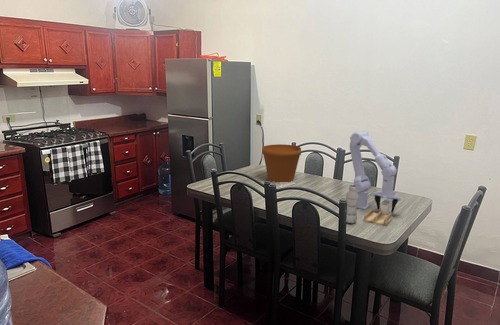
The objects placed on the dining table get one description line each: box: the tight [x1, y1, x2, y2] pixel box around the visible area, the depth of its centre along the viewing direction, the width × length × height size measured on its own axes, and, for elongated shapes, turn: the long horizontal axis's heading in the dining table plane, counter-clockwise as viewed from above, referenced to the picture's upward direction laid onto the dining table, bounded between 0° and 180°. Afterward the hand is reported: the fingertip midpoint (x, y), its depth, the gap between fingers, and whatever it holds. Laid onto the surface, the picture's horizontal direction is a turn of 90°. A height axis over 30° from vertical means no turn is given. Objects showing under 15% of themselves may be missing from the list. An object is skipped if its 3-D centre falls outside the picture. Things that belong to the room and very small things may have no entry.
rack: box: [362, 208, 393, 227], centre depth 193 cm, size 12×13×3 cm
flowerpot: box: [261, 143, 302, 183], centre depth 264 cm, size 28×28×24 cm
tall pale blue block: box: [380, 199, 392, 216], centre depth 201 cm, size 3×7×7 cm, turn 146°
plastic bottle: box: [345, 184, 359, 224], centre depth 187 cm, size 6×7×20 cm
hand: (385, 210), depth 201 cm, fingers open, 7 cm apart
